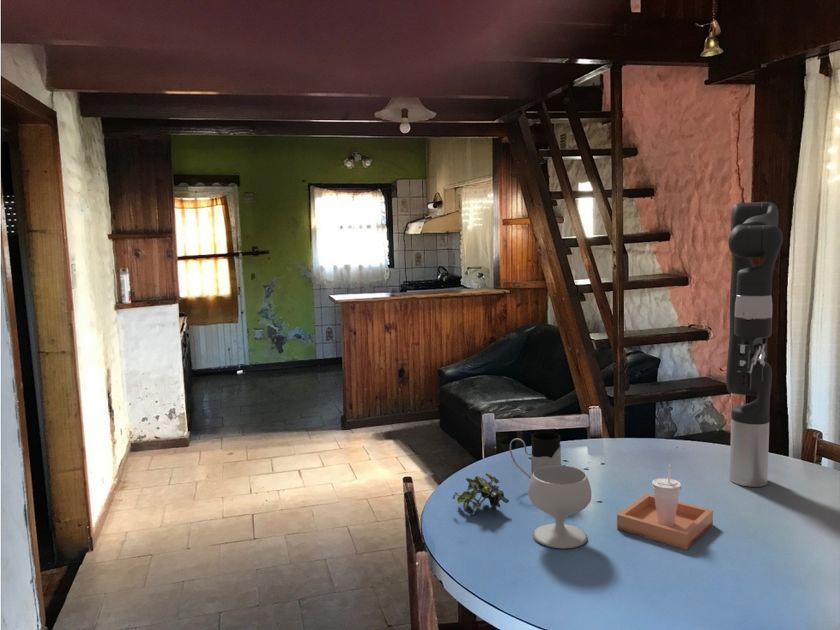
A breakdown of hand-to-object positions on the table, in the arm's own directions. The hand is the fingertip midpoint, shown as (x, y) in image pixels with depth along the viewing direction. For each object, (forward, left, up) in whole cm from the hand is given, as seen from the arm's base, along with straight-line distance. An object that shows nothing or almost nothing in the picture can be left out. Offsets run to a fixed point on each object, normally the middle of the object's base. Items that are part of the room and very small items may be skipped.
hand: (751, 385), depth 147 cm
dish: (+13, -14, -33) cm, 38 cm away
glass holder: (+12, -50, -33) cm, 61 cm away
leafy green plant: (+33, -53, -33) cm, 71 cm away
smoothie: (+13, -14, -32) cm, 37 cm away
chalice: (+33, -30, -33) cm, 56 cm away
